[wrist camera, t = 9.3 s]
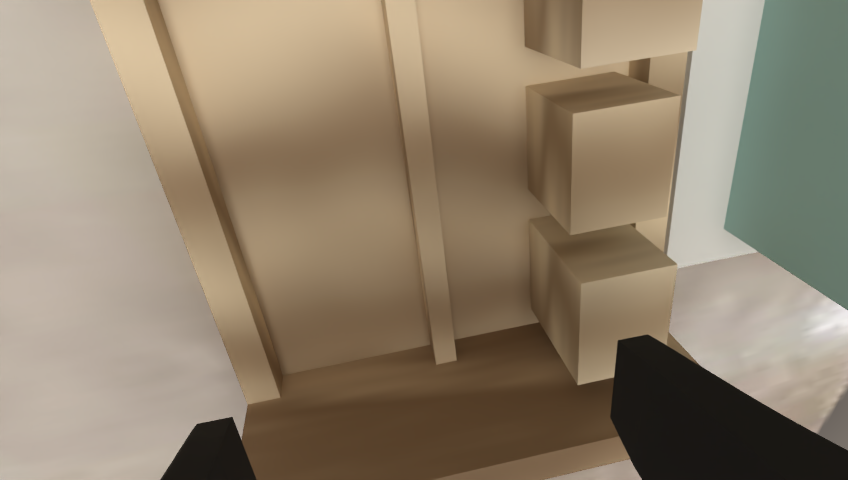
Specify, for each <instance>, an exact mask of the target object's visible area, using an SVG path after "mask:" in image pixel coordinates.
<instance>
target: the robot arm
mask: <svg viewBox="0 0 848 480" xmlns="http://www.w3.org/2000/svg"><path fill="white" fill-rule="evenodd" d="M610 418H611V420H612V422H613V424H614V426H615V429H616V431H617V433H618V435H619V437H620V439H621V441H622V443H623V445H624V447H625V449H626V451H627V453H628V455H629V457H630V459H631V461H632V463H633V465H634V467H635V469H636V470H637V472H638V474H639V475H640V477H641V478H642V480H848V450H846V449H844V448H842V447H840V446H838V445H836V444H834V443H832V442H831V441H829V440H827V439H825V438H823V437H821V436H819V435H818V434H816V433H814V432H812V431H810V430H808V429H807V428H805V427H803V426H801V425H799V424H797V423H796V422H794V421H792V420H790V419H789V418H787V417H785V416H783V415H781V414H780V413H778V412H776V411H774V410H773V409H771V408H769V407H768V406H766V405H764V404H762V403H761V402H759V401H757V400H756V399H754V398H752V397H750V396H749V395H747V394H745V393H744V392H742V391H740V390H739V389H737V388H735V387H734V386H732V385H730V384H729V383H727V382H726V381H724V380H722V379H721V378H719V377H717V376H716V375H714V374H712V373H711V372H709V371H708V370H706V369H704V368H703V367H701V366H699V365H698V364H696V363H695V362H693V361H691V360H690V359H688V358H687V357H685V356H683V355H682V354H680V353H678V352H677V351H675V350H674V349H672V348H670V347H669V346H667V345H665V344H664V343H662V342H660V341H659V340H657V339H655V338H653V337H652V336H650V335H648V334H647V335H642V336H637V337H632V338H627V339H622V340H618V343H617V353H616V363H615V373H614V383H613V394H612V404H611V414H610ZM161 480H257V479H256V477H255V474H254V472H253V469H252V467H251V464H250V461H249V459H248V456H247V454H246V451H245V448H244V446H243V443H242V441H241V438H240V435H239V433H238V430H237V428H236V425H235V423H234V420H233V417H230V418H225V419H220V420H215V421H210V422H205V423H200V424H197V425H196V426H195V427H194V429H193V430H192V432H191V433H190V435H189V436H188V438H187V439H186V441H185V442H184V444H183V445H182V447H181V449H180V450H179V452H178V453H177V455H176V456H175V458H174V460H173V461H172V463H171V464H170V466H169V467H168V469H167V470H166V472H165V474H164V475H163V477H162V478H161Z"/></svg>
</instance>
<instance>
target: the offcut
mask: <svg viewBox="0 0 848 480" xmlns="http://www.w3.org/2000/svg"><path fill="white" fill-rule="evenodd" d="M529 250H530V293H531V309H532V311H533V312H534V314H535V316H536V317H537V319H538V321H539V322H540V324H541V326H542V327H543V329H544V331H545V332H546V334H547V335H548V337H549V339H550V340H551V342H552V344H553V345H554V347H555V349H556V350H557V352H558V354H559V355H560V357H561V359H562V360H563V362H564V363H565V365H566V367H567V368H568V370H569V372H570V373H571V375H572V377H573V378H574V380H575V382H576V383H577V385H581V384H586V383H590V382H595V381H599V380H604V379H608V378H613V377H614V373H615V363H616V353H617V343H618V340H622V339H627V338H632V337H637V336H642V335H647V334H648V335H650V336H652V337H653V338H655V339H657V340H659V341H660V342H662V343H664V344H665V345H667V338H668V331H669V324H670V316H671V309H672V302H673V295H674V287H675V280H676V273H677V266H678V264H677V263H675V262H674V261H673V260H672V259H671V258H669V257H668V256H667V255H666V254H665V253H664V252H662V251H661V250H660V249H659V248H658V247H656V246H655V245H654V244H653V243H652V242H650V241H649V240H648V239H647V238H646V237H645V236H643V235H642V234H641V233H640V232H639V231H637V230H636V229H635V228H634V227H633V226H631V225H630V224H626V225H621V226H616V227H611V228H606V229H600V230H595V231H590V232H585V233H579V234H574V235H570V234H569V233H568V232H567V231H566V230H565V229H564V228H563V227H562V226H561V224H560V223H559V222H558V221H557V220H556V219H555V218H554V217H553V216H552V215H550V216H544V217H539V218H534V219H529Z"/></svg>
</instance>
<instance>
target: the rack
mask: <svg viewBox="0 0 848 480" xmlns="http://www.w3.org/2000/svg"><path fill="white" fill-rule="evenodd" d="M90 2H91V5H92V7H93V10H94V13H95V15H96V18H97V20H98V23H99V25H100V28H101V30H102V33H103V36H104V38H105V41H106V43H107V46H108V48H109V51H110V53H111V56H112V59H113V61H114V64H115V66H116V69H117V71H118V74H119V76H120V79H121V82H122V84H123V87H124V89H125V92H126V94H127V97H128V99H129V102H130V105H131V107H132V110H133V112H134V115H135V117H136V120H137V122H138V125H139V128H140V130H141V133H142V135H143V138H144V140H145V143H146V145H147V148H148V151H149V153H150V156H151V158H152V161H153V163H154V166H155V169H156V171H157V174H158V176H159V179H160V181H161V184H162V186H163V189H164V192H165V194H166V197H167V199H168V202H169V204H170V207H171V209H172V212H173V215H174V217H175V220H176V222H177V225H178V227H179V230H180V232H181V235H182V238H183V240H184V243H185V245H186V248H187V250H188V253H189V255H190V258H191V261H192V263H193V266H194V268H195V271H196V273H197V276H198V278H199V281H200V284H201V286H202V289H203V291H204V294H205V296H206V299H207V301H208V304H209V307H210V309H211V312H212V314H213V317H214V319H215V322H216V324H217V327H218V330H219V332H220V335H221V337H222V340H223V342H224V345H225V347H226V350H227V353H228V355H229V358H230V360H231V363H232V365H233V368H234V371H235V373H236V376H237V378H238V381H239V383H240V386H241V388H242V391H243V394H244V396H245V399H246V401H247V404H248V406H247V412H246V418H245V424H244V430H243V435H242V443H243V446H244V448H245V451H246V454H247V456H248V459H249V461H250V464H251V467H252V469H253V472H254V474H255V477H256V479H257V480H544V479H548V478H552V477H556V476H561V475H565V474H569V473H573V472H577V471H582V470H586V469H590V468H594V467H599V466H603V465H607V464H611V463H615V462H620V461H624V460H628V459H630V457H629V455H628V453H627V451H626V449H625V447H624V445H623V443H622V441H621V439H620V437H619V435H618V433H617V431H616V429H615V426H614V424H613V422H612V420H611V418H610V414H611V404H612V394H613V383H614V377H613V378H608V379H604V380H599V381H595V382H590V383H586V384H581V385H577V383H576V382H575V380H574V378H573V377H572V375H571V373H570V372H569V370H568V368H567V367H566V365H565V363H564V362H563V360H562V359H561V357H560V355H559V354H558V352H557V350H556V349H555V347H554V345H553V344H552V342H551V340H550V339H549V337H548V335H547V334H546V332H545V331H544V329H543V327H542V326H541V324H540V322H539V321H538V319H537V317H536V316H535V314H534V312H533V311H532V309H531V293H530V250H529V219H534V218H539V217H544V216H550V215H551V214H550V213H549V211H548V210H547V209H546V208H545V207H544V206H543V205H542V204H541V203H540V202H539V201H538V199H537V198H536V197H535V196H534V195H533V194H532V193H531V192H530V191H529V190H528V165H527V122H526V86H528V85H534V84H541V83H547V82H553V81H559V80H565V79H571V78H577V77H584V76H590V75H596V74H602V73H608V72H617V73H620V74H623V75H625V76H628V77H631V78H634V79H637V80H639V81H642V82H645V83H648V84H650V85H653V86H656V87H659V88H661V89H664V90H667V91H670V92H673V93H675V94H678V95H681V99H680V107H679V116H678V124H677V132H676V141H675V149H674V157H673V166H672V174H671V182H670V191H669V199H668V208H667V216H666V217H663V218H658V219H652V220H647V221H642V222H637V223H632V224H630V225H631V226H633V227H634V228H635V229H636V230H637V231H639V232H640V233H641V234H642V235H643V236H645V237H646V238H647V239H648V240H649V241H650V242H652V243H653V244H654V245H655V246H656V247H658V248H659V249H660V250H661V251H662V252H664V245H665V236H666V228H667V220H668V211H669V203H670V195H671V187H672V178H673V170H674V162H675V154H676V145H677V137H678V129H679V120H680V112H681V104H682V96H683V87H684V79H685V71H686V63H687V54H688V52H682V53H676V54H670V55H664V56H658V57H651V58H645V59H639V60H633V61H627V62H620V63H614V64H608V65H602V66H596V67H589V68H583V69H580V68H577V67H575V66H572V65H570V64H567V63H565V62H562V61H560V60H557V59H555V58H552V57H550V56H547V55H545V54H542V53H540V52H537V51H535V50H532V49H530V48H527V47H525V37H524V0H90ZM667 346H669V347H670V348H672V349H674V350H675V351H677V352H678V353H680V354H682V355H683V356H685V357H687V358H688V359H690V360H691V361H693V362H695V363H696V364H698V363H697V362H696V361H695V360H694V359H693V358H692V357H691V355H690V354H689V353H688V352H687V351H686V350H685V349H684V348H683V347H682V346H681V345H680V344H679V343H678V342H677V341H676V340H675V339H674V337H673V336H672V335H671V334H670V333H669V332H668V338H667ZM698 365H699V364H698ZM699 366H700V365H699Z"/></svg>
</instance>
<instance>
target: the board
mask: <svg viewBox="0 0 848 480" xmlns="http://www.w3.org/2000/svg"><path fill="white" fill-rule="evenodd" d="M724 229H725V230H726V231H728V232H729V233H731V234H732V235H734V236H735V237H737V238H738V239H740V240H741V241H743V242H744V243H746V244H747V245H749V246H751V247H752V248H754V249H755V250H757V251H758V252H760V253H761V254H763V255H764V256H766V257H767V258H769V259H770V260H772V261H773V262H775V263H776V264H778V265H780V266H781V267H783V268H784V269H786V270H787V271H789V272H790V273H792V274H793V275H795V276H796V277H798V278H799V279H801V280H802V281H804V282H805V283H807V284H808V285H810V286H812V287H813V288H815V289H816V290H818V291H819V292H821V293H822V294H824V295H825V296H827V297H828V298H830V299H831V300H833V301H834V302H836V303H837V304H839V305H841V306H842V307H844V308H845V309H847V310H848V0H765V3H764V8H763V14H762V19H761V25H760V30H759V36H758V41H757V47H756V52H755V58H754V63H753V69H752V74H751V80H750V85H749V91H748V96H747V102H746V108H745V113H744V119H743V124H742V130H741V135H740V141H739V146H738V152H737V157H736V163H735V168H734V174H733V179H732V185H731V190H730V196H729V201H728V207H727V212H726V218H725V224H724Z"/></svg>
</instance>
